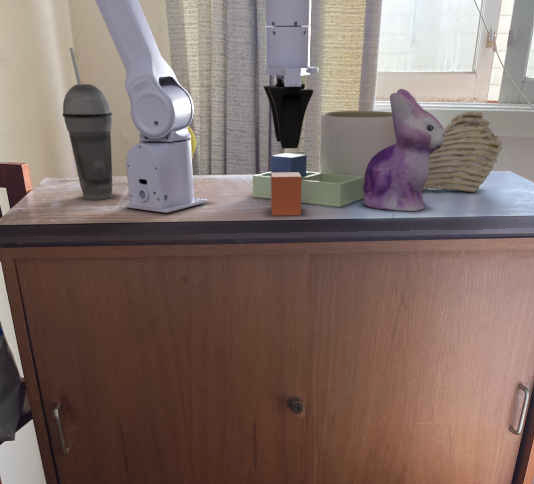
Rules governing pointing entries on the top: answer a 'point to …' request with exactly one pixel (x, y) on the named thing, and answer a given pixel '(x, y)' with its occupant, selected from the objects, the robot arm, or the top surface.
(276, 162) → the blue block
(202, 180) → the top surface
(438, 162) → the fossil tooth
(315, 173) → the tray
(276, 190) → the terracotta block
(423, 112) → the figurine
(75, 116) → the beverage cup
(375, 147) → the planter
